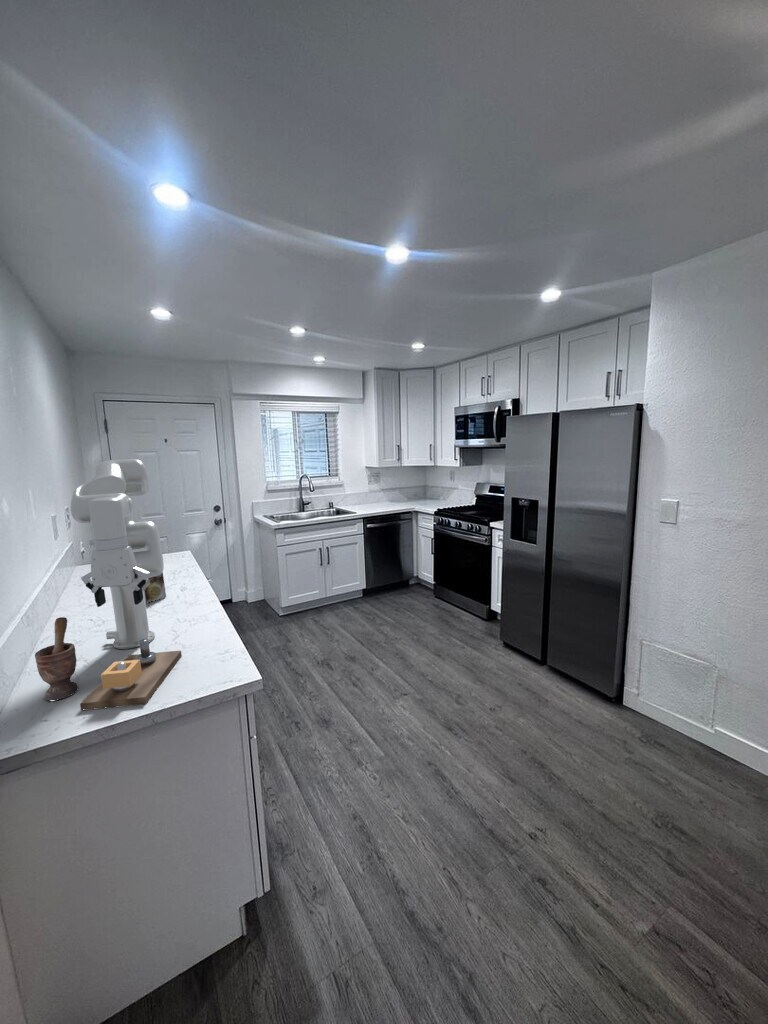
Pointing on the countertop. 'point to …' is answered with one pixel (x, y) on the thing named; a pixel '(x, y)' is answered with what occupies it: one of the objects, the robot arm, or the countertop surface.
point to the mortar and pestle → (58, 664)
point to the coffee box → (154, 588)
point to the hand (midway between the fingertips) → (120, 603)
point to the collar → (121, 674)
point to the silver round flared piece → (122, 689)
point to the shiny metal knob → (145, 653)
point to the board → (143, 684)
